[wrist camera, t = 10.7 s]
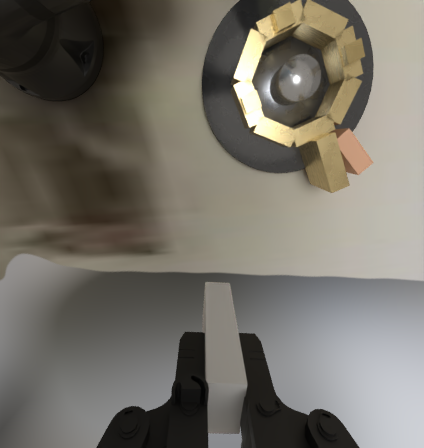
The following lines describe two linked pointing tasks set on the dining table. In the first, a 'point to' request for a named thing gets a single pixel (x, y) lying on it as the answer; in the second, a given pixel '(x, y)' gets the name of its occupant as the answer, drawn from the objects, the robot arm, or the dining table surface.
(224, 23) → the plate
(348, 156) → the block
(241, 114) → the gold octagonal ring
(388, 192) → the dining table surface
